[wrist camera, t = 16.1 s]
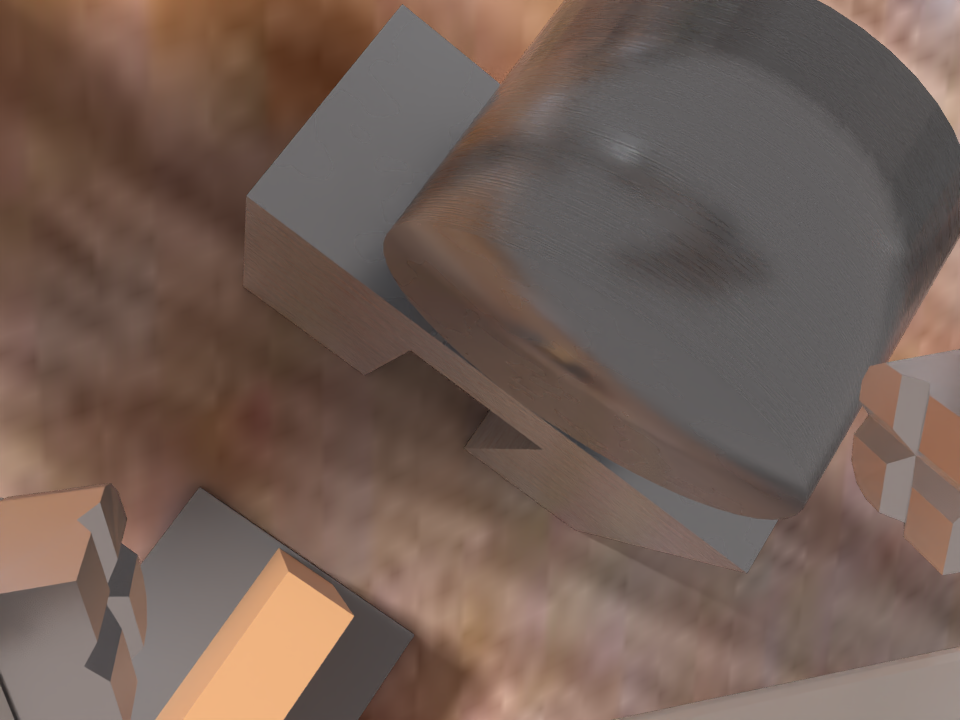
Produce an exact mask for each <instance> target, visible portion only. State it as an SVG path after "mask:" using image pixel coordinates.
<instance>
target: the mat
mask: <svg viewBox="0 0 960 720" xmlns="http://www.w3.org/2000/svg"><path fill="white" fill-rule="evenodd" d="M278 548H280V549H281V550H283V551H284V552H286V553H287V554H289V555H290V556H292V557H293V558H295V559H296V560H297V561H299V562H300V563H302V564H303V565H305V566H306V567H308V568H309V569H311V570H312V571H314V572H315V573H316V574H318V575H319V576H321V577H322V578H324V579H325V580H327V581H328V582H330V583H331V584H333V586H334V587H335V589H336V590H337V592H338V593H339V594H340V596H341V597H342V599H343V600H344V602H345V603H346V605H347V606H348V608H349V609H350V611H351V612H352V613H353V615H354V617H353V619H352V620H351V622H350V623H349V625H348V626H347V628H346V629H345V631H344V632H343V633H342V635H341V636H340V638H339V639H338V641H337V642H336V644H335V645H334V647H333V648H332V650H331V651H330V652H329V654H328V655H327V657H326V658H325V660H324V661H323V663H322V664H321V666H320V667H319V669H318V670H317V671H316V673H315V674H314V676H313V677H312V679H311V680H310V682H309V683H308V685H307V686H306V688H305V689H304V690H303V692H302V693H301V695H300V696H299V698H298V699H297V701H296V702H295V704H294V705H293V707H292V708H291V709H290V711H289V712H288V714H287V715H286V717H285V718H284V720H358V719H359V718H360V716H361V715H362V713H363V712H364V710H365V709H366V707H367V706H368V704H369V703H370V701H371V700H372V698H373V697H374V695H375V694H376V692H377V691H378V689H379V688H380V686H381V685H382V683H383V682H384V680H385V679H386V677H387V676H388V674H389V673H390V671H391V669H392V668H393V666H394V665H395V663H396V662H397V660H398V659H399V657H400V656H401V654H402V653H403V651H404V650H405V648H406V647H407V645H408V644H409V642H410V641H411V639H412V638H413V636H414V634H413V633H412V632H410V631H409V630H407V629H406V628H404V627H403V626H401V625H400V624H398V623H397V622H396V621H394V620H393V619H391V618H390V617H388V616H387V615H385V614H384V613H382V612H381V611H380V610H378V609H377V608H375V607H374V606H372V605H371V604H369V603H368V602H366V601H365V600H364V599H362V598H361V597H359V596H358V595H356V594H355V593H353V592H352V591H350V590H349V589H348V588H346V587H345V586H343V585H342V584H340V583H339V582H337V581H336V580H335V579H333V578H332V577H330V576H329V575H327V574H326V573H324V572H323V571H321V570H320V569H319V568H317V567H316V566H314V565H313V564H311V563H310V562H308V561H307V560H305V559H304V558H303V557H301V556H300V555H298V554H297V553H295V552H294V551H292V550H291V549H289V548H288V547H287V546H285V545H284V544H282V543H281V542H279V541H278V540H276V539H275V538H273V537H272V536H271V535H269V534H268V533H266V532H265V531H263V530H262V529H260V528H259V527H257V526H256V525H255V524H253V523H252V522H250V521H249V520H247V519H246V518H244V517H243V516H241V515H240V514H239V513H237V512H236V511H234V510H233V509H231V508H230V507H228V506H227V505H225V504H224V503H223V502H221V501H220V500H218V499H217V498H215V497H214V496H212V495H211V494H209V493H208V492H207V491H205V490H204V489H202V488H201V487H199V489H198V490H197V491H196V492H195V494H194V495H193V496H192V498H191V499H190V500H189V502H188V503H187V504H186V506H185V507H184V508H183V510H182V511H181V512H180V514H179V515H178V516H177V518H176V519H175V520H174V521H173V523H172V524H171V525H170V527H169V528H168V529H167V531H166V532H165V533H164V535H163V536H162V537H161V539H160V540H159V541H158V543H157V544H156V545H155V547H154V548H153V549H152V551H151V552H150V553H149V554H148V556H147V557H146V558H145V560H144V561H143V562H142V564H141V565H140V566H141V570H142V573H143V578H144V584H145V591H146V597H147V629H146V636H145V642H144V647H143V648H142V650H141V651H140V652H139V653H138V654H137V655H136V656H135V657H134V658H133V659H132V660H131V661H132V664H133V667H134V671H135V674H136V677H137V681H138V682H137V688H136V693H135V698H134V704H133V709H132V715H131V720H155V719H156V718H157V716H158V715H159V714H160V712H161V711H162V709H163V708H164V707H165V705H166V704H167V702H168V701H169V700H170V698H171V697H172V696H173V694H174V693H175V691H176V690H177V689H178V687H179V686H180V684H181V683H182V682H183V680H184V679H185V677H186V676H187V675H188V673H189V672H190V670H191V669H192V668H193V666H194V665H195V664H196V662H197V661H198V659H199V658H200V657H201V655H202V654H203V652H204V651H205V650H206V648H207V647H208V645H209V644H210V643H211V641H212V640H213V639H214V637H215V636H216V634H217V633H218V632H219V630H220V629H221V627H222V626H223V625H224V623H225V622H226V620H227V619H228V618H229V616H230V615H231V614H232V612H233V611H234V609H235V608H236V607H237V605H238V604H239V602H240V601H241V600H242V598H243V597H244V595H245V594H246V593H247V591H248V590H249V588H250V587H251V586H252V584H253V583H254V582H255V580H256V579H257V577H258V576H259V575H260V573H261V572H262V570H263V569H264V568H265V566H266V565H267V563H268V562H269V561H270V559H271V558H272V557H273V555H274V554H275V552H276V551H277V550H278Z"/></svg>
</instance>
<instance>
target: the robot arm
mask: <svg viewBox="0 0 960 720" xmlns="http://www.w3.org/2000/svg"><path fill="white" fill-rule="evenodd" d="M859 401H860V402H861V404H862V405H863V407H864V408H865V410H866V411H867V413H868V414H869V415H868V417H867V418H866V419H865V421H864V422H863V423H862V424H861V426H860V427H859V428H858V430H857V431H856V432H855V434H854V439H853V448H852V458H851V460H852V465H853V469H854V473H855V478H856V482H857V484H858V486H859V488H860V490H861V491H862V493H863V495H864V497H865V498H866V500H867V501H868V502H869V503H870V504H871V505H872V506H873V507H874V508H875V509H876V510H877V511H878V512H879V513H881V514H884V515H886V516H889V517H892V518H894V519H897V520H899V521H902V522H904V536H903V537H904V538H905V539H906V540H907V541H908V542H909V543H910V544H911V545H912V546H913V547H914V548H915V549H916V550H917V551H918V552H919V553H920V554H921V555H922V556H923V557H924V558H925V559H926V560H927V561H928V562H929V563H930V564H931V565H933V566H934V567H935V568H936V569H937V570H938V571H939V572H940V573H941V574H942V575H947V574H953V573H959V572H960V349H957V350H952V351H947V352H941V353H936V354H930V355H925V356H920V357H914V358H909V359H903V360H898V361H892V362H887V363H882V364H877V365H873V366H869V368H868V370H867V372H866V374H865V376H864V378H863V380H862V384H861V390H860V397H859ZM126 521H127V517H126V514H125V511H124V508H123V505H122V502H121V499H120V496H119V492H118V491H117V490H116V488H115V487H114V486H113V485H112V484H111V483H106V484H99V485H91V486H84V487H77V488H70V489H62V490H55V491H48V492H41V493H33V494H26V495H19V496H12V497H7V498H5V499H4V498H0V720H131V715H132V709H133V704H134V698H135V693H136V688H137V682H138V681H137V677H136V674H135V671H134V667H133V664H132V661H131V660H132V659H133V658H134V657H135V656H136V655H137V654H138V653H139V652H140V651H141V650H142V648H143V647H144V642H145V636H146V629H147V597H146V591H145V584H144V578H143V573H142V570H141V566H140V562H139V559H138V555H137V554H136V553H134V552H133V551H131V550H130V549H129V548H127V547H126V546H124V545H123V544H122V539H123V534H124V530H125V526H126ZM613 720H960V647H955V648H950V649H945V650H941V651H936V652H931V653H926V654H922V655H917V656H912V657H907V658H903V659H898V660H893V661H888V662H884V663H879V664H874V665H869V666H865V667H860V668H855V669H850V670H846V671H841V672H836V673H831V674H827V675H822V676H817V677H813V678H808V679H803V680H799V681H794V682H789V683H784V684H780V685H775V686H770V687H766V688H761V689H756V690H751V691H747V692H742V693H737V694H732V695H727V696H723V697H718V698H713V699H708V700H704V701H699V702H694V703H689V704H685V705H680V706H675V707H670V708H666V709H661V710H656V711H651V712H647V713H642V714H637V715H632V716H628V717H623V718H618V719H613Z"/></svg>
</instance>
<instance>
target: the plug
mask: <svg viewBox="0 0 960 720" xmlns="http://www.w3.org/2000/svg"><path fill="white" fill-rule="evenodd" d="M353 617H354V615H353V613H352V612H351V611H350V609H349V608H348V606H347V605H346V603H345V602H344V600H343V599H342V597H341V596H340V594H339V593H338V592H337V590H336V589H335V587H334V586H333V584H331V583H330V582H328V581H327V580H325V579H324V578H322V577H321V576H319V575H318V574H316V573H315V572H314V571H312V570H311V569H309V568H308V567H306V566H305V565H303V564H302V563H300V562H299V561H297V560H296V559H295V558H293V557H292V556H290V555H289V554H287V553H286V552H284V551H283V550H281V549H280V548H278V550H277V551H276V552H275V554H274V555H273V557H272V558H271V559H270V561H269V562H268V563H267V565H266V566H265V568H264V569H263V570H262V572H261V573H260V575H259V576H258V577H257V579H256V580H255V582H254V583H253V584H252V586H251V587H250V588H249V590H248V591H247V593H246V594H245V595H244V597H243V598H242V600H241V601H240V602H239V604H238V605H237V607H236V608H235V609H234V611H233V612H232V614H231V615H230V616H229V618H228V619H227V620H226V622H225V623H224V625H223V626H222V627H221V629H220V630H219V632H218V633H217V634H216V636H215V637H214V639H213V640H212V641H211V643H210V644H209V645H208V647H207V648H206V650H205V651H204V652H203V654H202V655H201V657H200V658H199V659H198V661H197V662H196V664H195V665H194V666H193V668H192V669H191V670H190V672H189V673H188V675H187V676H186V677H185V679H184V680H183V682H182V683H181V684H180V686H179V687H178V689H177V690H176V691H175V693H174V694H173V696H172V697H171V698H170V700H169V701H168V702H167V704H166V705H165V707H164V708H163V709H162V711H161V712H160V714H159V715H158V716H157V718H156V719H155V720H284V718H285V717H286V715H287V714H288V712H289V711H290V709H291V708H292V707H293V705H294V704H295V702H296V701H297V699H298V698H299V696H300V695H301V693H302V692H303V690H304V689H305V688H306V686H307V685H308V683H309V682H310V680H311V679H312V677H313V676H314V674H315V673H316V671H317V670H318V669H319V667H320V666H321V664H322V663H323V661H324V660H325V658H326V657H327V655H328V654H329V652H330V651H331V650H332V648H333V647H334V645H335V644H336V642H337V641H338V639H339V638H340V636H341V635H342V633H343V632H344V631H345V629H346V628H347V626H348V625H349V623H350V622H351V620H352V619H353Z"/></svg>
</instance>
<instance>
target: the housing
mask: <svg viewBox="0 0 960 720" xmlns="http://www.w3.org/2000/svg"><path fill="white" fill-rule="evenodd" d="M959 237H960V144H959V142H958V140H957V137H956V135H955V132H954V130H953V128H952V127H951V125H950V123H949V122H948V120H947V118H946V117H945V115H944V113H943V112H942V110H941V108H940V107H939V105H938V103H937V102H936V101H935V100H934V98H933V97H932V96H931V95H930V93H929V92H928V91H927V90H926V88H925V87H924V86H923V85H922V83H921V82H920V81H919V80H918V78H917V77H916V76H915V75H914V74H913V73H912V72H911V71H910V70H909V69H908V68H907V67H906V66H905V65H904V64H903V63H902V62H901V61H900V60H899V59H898V58H897V57H896V56H895V55H894V54H893V53H892V52H891V51H890V50H888V49H887V48H886V47H885V46H884V45H882V44H881V43H880V42H879V41H877V40H876V39H875V38H874V37H872V36H871V35H870V34H869V33H868V32H866V31H865V30H864V29H863V28H861V27H860V26H858V25H857V24H855V23H854V22H852V21H851V20H849V19H848V18H846V17H845V16H843V15H842V14H840V13H838V12H837V11H835V10H834V9H832V8H831V7H829V6H827V5H825V4H823V3H822V2H820V1H818V0H564V1H563V3H562V4H561V5H560V7H559V8H558V9H557V11H556V12H555V13H554V15H553V16H552V17H551V18H550V20H549V21H548V22H547V24H546V25H545V26H544V28H543V29H542V30H541V32H540V33H539V34H538V36H537V37H536V38H535V40H534V41H533V42H532V43H531V45H530V46H529V47H528V49H527V50H526V51H525V53H524V54H523V55H522V57H521V58H520V59H519V61H518V62H517V63H516V65H515V66H514V67H513V69H512V70H511V71H510V72H509V74H508V75H507V76H506V78H505V79H504V80H503V82H502V83H501V84H499V83H498V82H497V81H496V80H494V79H493V78H492V77H491V76H490V75H488V74H487V73H486V72H485V71H483V70H482V69H481V68H480V67H479V66H477V65H476V64H475V63H474V62H472V61H471V60H470V59H469V58H468V57H466V56H465V55H464V54H463V53H461V52H460V51H459V50H458V49H457V48H455V47H454V46H453V45H452V44H450V43H449V42H448V41H447V40H446V39H444V38H443V37H442V36H441V35H439V34H438V33H437V32H436V31H435V30H433V29H432V28H431V27H430V26H429V25H427V24H426V23H425V22H424V21H422V20H421V19H420V18H419V17H418V16H416V15H415V14H414V13H413V12H411V11H410V10H409V9H408V8H407V7H405V6H404V5H403V4H402V5H401V6H400V8H399V9H398V10H397V11H396V13H395V14H394V15H393V16H392V18H391V19H390V20H389V21H388V22H387V24H386V25H385V26H384V27H383V29H382V30H381V31H380V32H379V34H378V35H377V36H376V37H375V38H374V40H373V41H372V42H371V43H370V45H369V46H368V47H367V48H366V49H365V51H364V52H363V53H362V54H361V56H360V57H359V58H358V59H357V61H356V62H355V63H354V64H353V65H352V67H351V68H350V69H349V70H348V72H347V73H346V74H345V75H344V76H343V78H342V79H341V80H340V81H339V83H338V84H337V85H336V86H335V88H334V89H333V90H332V91H331V92H330V94H329V95H328V96H327V97H326V99H325V100H324V101H323V102H322V104H321V105H320V106H319V107H318V108H317V110H316V111H315V112H314V113H313V115H312V116H311V117H310V118H309V119H308V121H307V122H306V123H305V124H304V126H303V127H302V128H301V129H300V131H299V132H298V133H297V134H296V135H295V137H294V138H293V139H292V140H291V142H290V143H289V144H288V145H287V146H286V148H285V149H284V150H283V151H282V153H281V154H280V155H279V156H278V158H277V159H276V160H275V161H274V162H273V164H272V165H271V166H270V167H269V169H268V170H267V171H266V172H265V174H264V175H263V176H262V177H261V178H260V180H259V181H258V182H257V183H256V185H255V186H254V187H253V188H252V189H251V191H250V192H249V193H248V194H247V196H246V217H245V243H244V269H243V287H245V288H246V289H248V290H249V291H250V292H252V293H253V294H254V295H256V296H257V297H258V298H260V299H261V300H262V301H264V302H265V303H267V304H268V305H269V306H271V307H272V308H273V309H275V310H276V311H277V312H279V313H280V314H282V315H283V316H284V317H286V318H287V319H288V320H290V321H291V322H292V323H294V324H295V325H296V326H298V327H299V328H301V329H302V330H303V331H305V332H306V333H307V334H309V335H310V336H311V337H313V338H314V339H316V340H317V341H318V342H320V343H321V344H322V345H324V346H325V347H326V348H328V349H329V350H331V351H332V352H333V353H335V354H336V355H337V356H339V357H340V358H341V359H343V360H344V361H345V362H347V363H348V364H350V365H351V366H352V367H354V368H355V369H356V370H358V371H359V372H360V373H362V374H363V375H366V374H368V373H370V372H371V371H373V370H375V369H377V368H379V367H381V366H382V365H384V364H386V363H388V362H390V361H392V360H393V359H395V358H397V357H399V356H401V355H403V354H404V353H406V352H408V351H410V350H411V351H412V352H413V353H415V354H416V355H417V356H419V357H420V358H421V359H423V360H424V361H425V362H427V363H428V364H429V365H431V366H432V367H433V368H435V369H436V370H437V371H439V372H440V373H441V374H443V375H444V376H445V377H447V378H448V379H449V380H451V381H452V382H453V383H455V384H456V385H457V386H459V387H460V388H461V389H463V390H464V391H465V392H467V393H468V394H469V395H471V396H472V397H473V398H475V399H476V400H478V401H479V402H480V403H482V404H483V405H484V406H486V407H487V408H488V409H490V411H489V412H488V414H487V415H486V417H485V418H484V420H483V421H482V423H481V424H480V426H479V427H478V428H477V430H476V431H475V433H474V434H473V436H472V437H471V439H470V440H469V442H468V443H467V444H466V446H465V447H464V449H465V450H467V451H468V452H469V453H471V454H472V455H473V456H475V457H476V458H477V459H479V460H480V461H482V462H483V463H484V464H486V465H487V466H488V467H490V468H491V469H492V470H494V471H495V472H497V473H498V474H499V475H501V476H502V477H503V478H505V479H506V480H507V481H509V482H510V483H511V484H513V485H514V486H516V487H517V488H518V489H520V490H521V491H522V492H524V493H525V494H526V495H528V496H529V497H531V498H532V499H533V500H535V501H536V502H537V503H539V504H540V505H541V506H543V507H544V508H545V509H547V510H548V511H550V512H551V513H552V514H554V515H555V516H556V517H558V518H559V519H560V520H562V521H563V522H565V523H566V524H567V525H569V526H570V527H571V528H573V529H574V530H577V531H581V532H585V533H589V534H593V535H597V536H601V537H605V538H609V539H613V540H617V541H621V542H625V543H629V544H633V545H637V546H640V547H644V548H648V549H652V550H656V551H660V552H664V553H668V554H672V555H676V556H680V557H684V558H688V559H692V560H696V561H700V562H704V563H708V564H712V565H716V566H720V567H724V568H728V569H732V570H736V571H740V572H744V573H748V571H749V569H750V567H751V566H752V564H753V562H754V561H755V559H756V557H757V555H758V554H759V552H760V550H761V548H762V547H763V545H764V543H765V542H766V540H767V538H768V536H769V535H770V533H771V531H772V530H773V528H774V526H775V524H776V523H777V521H778V519H786V518H789V517H792V516H795V515H797V514H798V513H799V512H800V511H801V510H802V509H803V508H804V506H805V504H806V503H807V501H808V499H809V498H810V496H811V494H812V492H813V491H814V489H815V487H816V485H817V484H818V482H819V480H820V478H821V477H822V475H823V473H824V471H825V470H826V468H827V466H828V465H829V463H830V461H831V459H832V458H833V456H834V454H835V452H836V451H837V449H838V447H839V445H840V444H841V442H842V440H843V439H844V437H845V435H846V433H847V432H848V430H849V428H850V426H851V425H852V423H853V421H854V419H855V418H856V416H857V414H858V412H859V411H860V409H861V407H862V406H863V405H862V404H861V402H860V401H859V397H860V390H861V384H862V380H863V378H864V376H865V374H866V372H867V370H868V368H869V366H873V365H877V364H882V363H887V362H888V360H889V359H890V357H891V355H892V354H893V352H894V350H895V348H896V347H897V345H898V343H899V341H900V340H901V338H902V336H903V334H904V333H905V331H906V329H907V327H908V326H909V324H910V322H911V321H912V319H913V317H914V315H915V314H916V312H917V310H918V308H919V307H920V305H921V303H922V301H923V300H924V298H925V296H926V295H927V293H928V291H929V289H930V288H931V286H932V284H933V282H934V281H935V279H936V277H937V275H938V274H939V272H940V270H941V268H942V267H943V265H944V263H945V262H946V260H947V258H948V256H949V255H950V253H951V251H952V249H953V248H954V246H955V244H956V242H957V241H958V239H959Z"/></svg>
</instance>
